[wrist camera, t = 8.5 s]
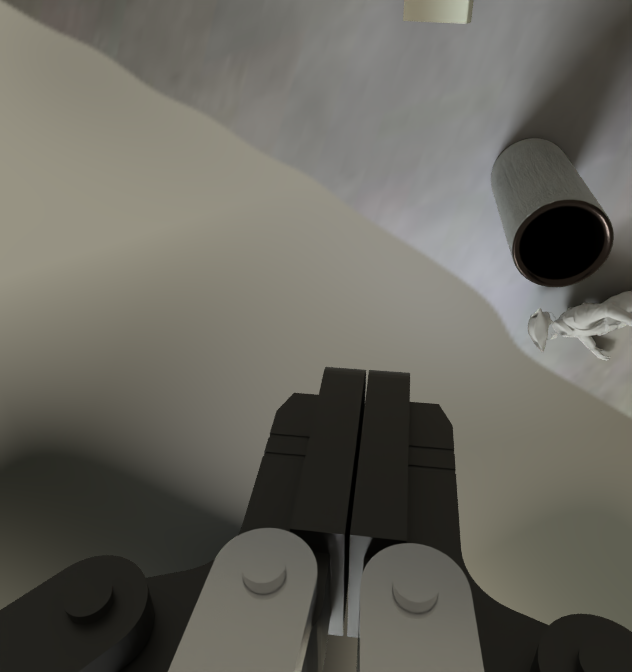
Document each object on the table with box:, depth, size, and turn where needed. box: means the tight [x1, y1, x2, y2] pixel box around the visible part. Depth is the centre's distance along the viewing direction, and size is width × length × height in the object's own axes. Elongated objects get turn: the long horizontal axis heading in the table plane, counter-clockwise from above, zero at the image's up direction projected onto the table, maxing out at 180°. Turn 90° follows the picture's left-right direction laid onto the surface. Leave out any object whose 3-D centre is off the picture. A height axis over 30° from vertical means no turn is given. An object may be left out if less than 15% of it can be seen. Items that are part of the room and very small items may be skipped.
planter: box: [491, 138, 614, 287], centre depth 32 cm, size 4×4×10 cm
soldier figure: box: [528, 291, 632, 360], centre depth 39 cm, size 8×5×12 cm
